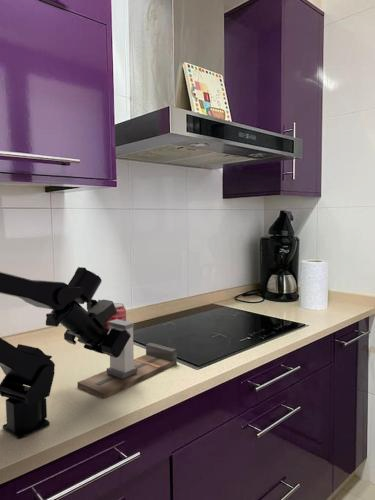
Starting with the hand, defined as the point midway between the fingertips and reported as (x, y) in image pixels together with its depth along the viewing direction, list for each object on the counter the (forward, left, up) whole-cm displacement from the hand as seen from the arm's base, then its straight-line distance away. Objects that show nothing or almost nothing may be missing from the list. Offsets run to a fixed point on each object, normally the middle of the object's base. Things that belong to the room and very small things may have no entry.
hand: (115, 353), depth 94 cm
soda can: (+23, +26, -7) cm, 36 cm away
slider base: (+5, 0, -7) cm, 9 cm away
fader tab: (+2, 0, -6) cm, 6 cm away
